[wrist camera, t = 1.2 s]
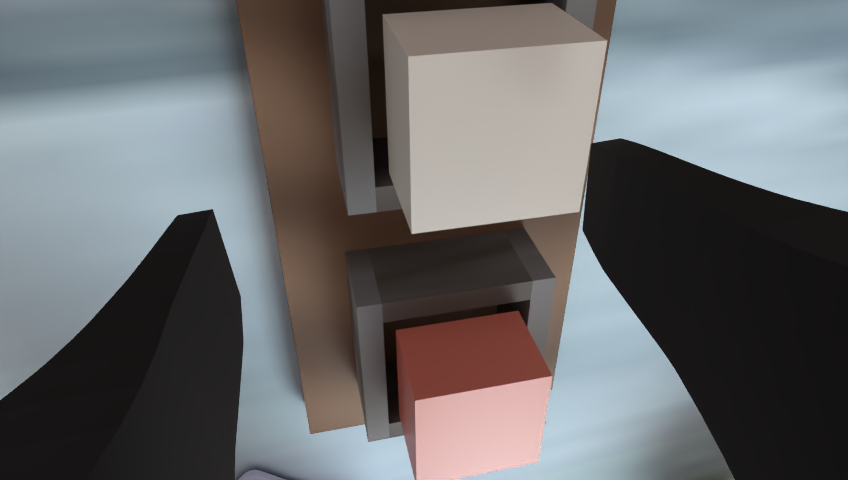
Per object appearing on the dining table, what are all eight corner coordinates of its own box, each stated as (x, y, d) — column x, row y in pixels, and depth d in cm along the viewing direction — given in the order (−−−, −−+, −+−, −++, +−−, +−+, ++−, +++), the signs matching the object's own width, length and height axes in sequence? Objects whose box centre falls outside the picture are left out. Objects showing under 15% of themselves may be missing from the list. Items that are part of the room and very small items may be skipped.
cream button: (382, 14, 15) (408, 56, 12) (551, 2, 15) (607, 40, 13) (389, 172, 17) (411, 233, 15) (535, 156, 18) (579, 211, 15)
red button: (395, 330, 20) (415, 400, 18) (518, 310, 21) (552, 375, 19) (399, 415, 23) (416, 487, 20) (509, 394, 24) (538, 462, 21)
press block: (207, -190, 15) (194, -187, 12) (621, -194, 17) (718, -192, 14) (307, 407, 28) (316, 496, 24) (539, 366, 30) (579, 443, 26)
